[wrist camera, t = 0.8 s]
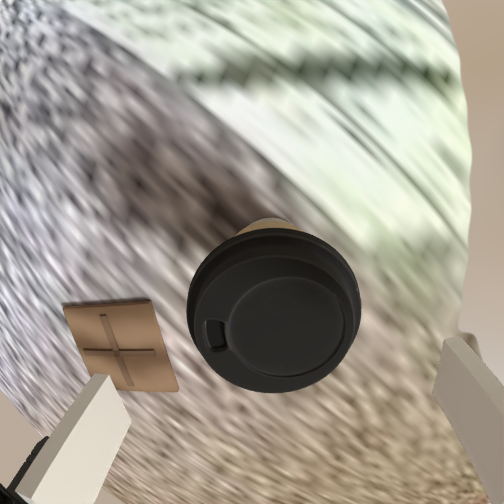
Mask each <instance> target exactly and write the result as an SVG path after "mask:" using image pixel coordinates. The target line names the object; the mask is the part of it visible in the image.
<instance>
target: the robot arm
mask: <svg viewBox="0 0 504 504" xmlns="http://www.w3.org/2000/svg"><path fill="white" fill-rule="evenodd" d="M432 393H433V395H434V396H435V398H436V400H437V401H438V403H439V405H440V406H441V408H442V410H443V412H444V413H445V415H446V417H447V419H448V420H449V422H450V424H451V426H452V427H453V429H454V431H455V433H456V435H457V436H458V438H459V440H460V442H461V444H462V446H463V447H464V449H465V451H466V453H467V455H468V457H469V459H470V461H471V463H472V465H473V467H474V468H475V470H476V472H477V474H478V476H479V478H480V480H481V483H482V485H483V487H484V489H485V491H486V493H487V495H488V497H489V499H490V501H491V504H504V386H503V384H502V383H501V382H500V381H499V380H498V378H497V377H496V376H495V375H494V374H493V373H492V371H491V370H490V369H489V368H488V367H487V366H486V364H485V363H484V362H483V361H482V360H481V359H480V358H479V357H478V355H477V354H476V353H475V352H474V351H473V350H472V349H471V348H470V347H469V346H468V344H467V343H466V342H465V341H464V340H463V339H462V338H461V337H460V336H456V337H453V338H449V339H446V340H444V342H443V347H442V352H441V357H440V362H439V367H438V371H437V375H436V380H435V384H434V388H433V392H432ZM131 422H132V420H131V419H130V417H129V415H128V413H127V411H126V409H125V407H124V405H123V403H122V401H121V399H120V397H119V395H118V393H117V391H116V389H115V386H114V384H113V382H112V380H111V378H110V375H109V374H94V375H93V376H92V378H91V379H90V380H89V382H88V383H87V384H86V386H85V387H84V388H83V390H82V391H81V393H80V394H79V395H78V397H77V398H76V400H75V401H74V402H73V404H72V405H71V407H70V408H69V410H68V411H67V412H66V414H65V415H64V417H63V418H62V420H61V421H60V422H59V424H58V425H57V427H56V428H55V430H54V431H53V433H52V434H51V436H50V437H49V436H46V437H45V438H43V439H42V440H41V441H39V442H38V443H37V444H36V446H35V447H34V449H33V450H32V452H31V455H29V456H28V458H27V459H26V462H24V464H23V465H22V467H21V468H20V470H19V471H18V473H17V474H16V476H15V477H14V479H13V480H12V482H11V484H10V485H9V486H8V488H7V489H5V487H3V485H2V484H1V483H0V504H94V502H95V500H96V497H97V496H98V493H99V491H100V489H101V487H102V484H103V482H104V480H105V478H106V476H107V473H108V471H109V469H110V467H111V465H112V462H113V460H114V458H115V456H116V454H117V452H118V450H119V447H120V445H121V443H122V441H123V439H124V437H125V435H126V433H127V430H128V428H129V426H130V424H131Z"/></svg>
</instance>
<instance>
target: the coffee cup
mask: <svg viewBox="0 0 504 504" xmlns="http://www.w3.org/2000/svg"><path fill="white" fill-rule="evenodd" d="M186 312H187V323H188V328H189V332H190V334H191V337H192V339H193V342H194V344H195V345H196V347H197V349H198V350H199V352H200V353H201V355H202V356H203V357H204V359H205V360H206V362H207V363H208V364H209V366H210V367H211V368H212V369H213V370H214V371H215V372H216V373H217V374H219V375H220V376H221V377H223V378H224V379H225V380H227V381H229V382H230V383H232V384H234V385H236V386H239V387H241V388H244V389H247V390H251V391H255V392H262V393H284V392H291V391H295V390H299V389H302V388H305V387H308V386H310V385H312V384H314V383H316V382H318V381H320V380H321V379H323V378H324V377H326V376H327V375H328V374H329V373H331V372H332V371H333V370H334V369H335V368H336V367H337V366H338V365H339V363H340V362H341V361H342V360H343V358H344V357H345V355H346V353H347V352H348V350H349V348H350V347H351V345H352V343H353V341H354V339H355V337H356V335H357V332H358V329H359V325H360V320H361V298H360V293H359V287H358V284H357V281H356V278H355V276H354V273H353V271H352V270H351V268H350V266H349V265H348V263H347V262H346V260H345V259H344V258H343V257H342V256H341V255H340V254H339V253H338V252H337V251H336V250H335V249H334V248H333V247H332V246H330V245H329V244H327V243H326V242H324V241H323V240H321V239H319V238H317V237H315V236H313V235H311V234H308V233H305V232H303V231H302V230H301V229H299V228H297V227H296V226H294V225H292V224H291V223H289V222H287V221H286V220H283V219H280V218H263V219H259V220H257V221H254V222H253V223H251V224H249V225H248V226H247V227H246V228H244V229H242V230H241V231H239V232H238V233H237V234H236V235H235V236H234V237H233V238H231V239H229V240H227V241H225V242H224V243H222V244H221V245H219V246H218V247H217V248H216V249H214V250H213V251H212V252H211V253H210V254H209V255H208V256H207V257H206V258H205V259H204V261H203V262H202V263H201V264H200V266H199V268H198V269H197V271H196V273H195V275H194V277H193V279H192V282H191V284H190V288H189V292H188V299H187V310H186Z"/></svg>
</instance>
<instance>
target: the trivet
mask: <svg viewBox="0 0 504 504" xmlns="http://www.w3.org/2000/svg"><path fill="white" fill-rule="evenodd" d="M63 311H64V314H65V317H66V319H67V322H68V325H69V327H70V330H71V332H72V335H73V337H74V340H75V342H76V344H77V347H78V349H79V351H80V354H81V356H82V358H83V361H84V363H85V365H86V367H87V369H88V371H89V374H90V376H91V378H92V376H93V375H94V374H109V375H110V378H111V380H112V382H113V384H114V386H115V389H116V390H126V391H146V392H178V390H179V386H178V383H177V380H176V378H175V375H174V372H173V369H172V366H171V363H170V360H169V357H168V354H167V351H166V348H165V345H164V342H163V338H162V335H161V332H160V329H159V325H158V322H157V319H156V315H155V312H154V308H153V305H152V301H151V300H150V301H137V302H124V303H110V304H94V305H77V306H66V307H64V308H63Z"/></svg>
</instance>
